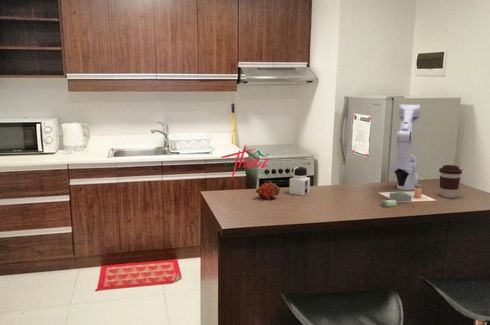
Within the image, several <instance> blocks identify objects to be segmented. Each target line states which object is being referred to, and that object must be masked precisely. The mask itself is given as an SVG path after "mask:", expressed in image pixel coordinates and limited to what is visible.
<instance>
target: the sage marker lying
mask: <svg viewBox="0 0 490 325" xmlns="http://www.w3.org/2000/svg"><path fill="white" fill-rule="evenodd" d="M379 204H380V205H381V208H382V209H383V208H389V207H397V205H398V202H396V200H391V199H381V200H380V203H379Z"/></svg>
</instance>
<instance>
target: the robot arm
mask: <svg viewBox="0 0 490 325" xmlns="http://www.w3.org/2000/svg"><path fill="white" fill-rule="evenodd" d="M420 116H421V105H420V104H403V103H400V104H399V105H398V119H399V121H401V122H400V123H399V128H398V131H397V132H396V137H395V139H396V140H395V141H396V158H395V159H396V161H395V163H392V166H391V167H392V168H393V169H394V173H395V176H396V182H397V183H396V184H397V190H398V189H399V190H400V191H412V190H413V191H414V184H419V175H418V174H417V173H416V172H417V166H418V165H417V163H418V160H417V157H416V156H415V155H414V154H412V153H413V152H412V150H413V137H414V126H415V124H416V122H419V120H420Z"/></svg>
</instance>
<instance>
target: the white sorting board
mask: <svg viewBox="0 0 490 325" xmlns="http://www.w3.org/2000/svg"><path fill="white" fill-rule="evenodd" d="M404 192H405V196H398V195H396V191H387V192H379V194H380V195H382V196H384V197H386V198H388V200H396V202H397V203H407V202H430V201H432V202H434V201H437V200H436V199H435V198H433V197H429V196H427V195H425V194H422V193H421V198H415V197H414V190H413V191H412V190H409V191H404Z"/></svg>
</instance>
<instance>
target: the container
mask: <svg viewBox="0 0 490 325" xmlns="http://www.w3.org/2000/svg"><path fill="white" fill-rule="evenodd" d="M292 171H293V175H292V176H293V177H291V178H289V190H288V192H289V194H290V195H295V196H296V195H297V196H306V195H307V194H309V193H310V191H311V190H310V189H311V178H310V177H307V176H308V175H307V174H308V173H307V172H308V171H307V167H304V166H295V167H294V168H293V170H292Z"/></svg>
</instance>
